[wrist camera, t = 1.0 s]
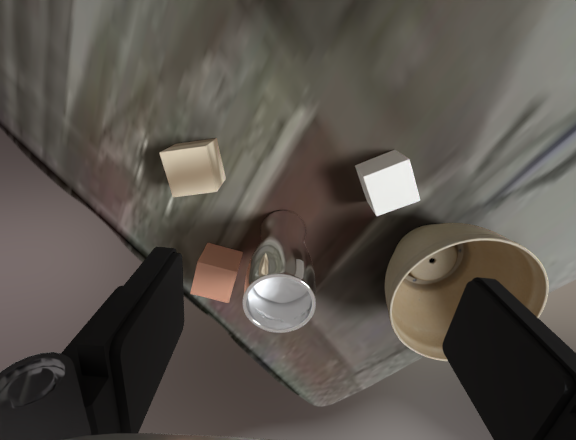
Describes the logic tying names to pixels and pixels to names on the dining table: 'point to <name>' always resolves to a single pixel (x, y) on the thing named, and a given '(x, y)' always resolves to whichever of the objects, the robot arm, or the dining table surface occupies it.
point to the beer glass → (280, 276)
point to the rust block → (216, 272)
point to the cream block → (388, 182)
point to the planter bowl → (453, 279)
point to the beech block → (193, 167)
